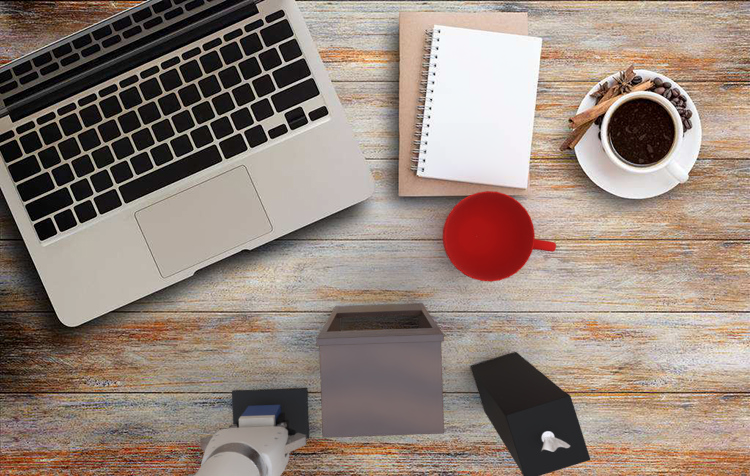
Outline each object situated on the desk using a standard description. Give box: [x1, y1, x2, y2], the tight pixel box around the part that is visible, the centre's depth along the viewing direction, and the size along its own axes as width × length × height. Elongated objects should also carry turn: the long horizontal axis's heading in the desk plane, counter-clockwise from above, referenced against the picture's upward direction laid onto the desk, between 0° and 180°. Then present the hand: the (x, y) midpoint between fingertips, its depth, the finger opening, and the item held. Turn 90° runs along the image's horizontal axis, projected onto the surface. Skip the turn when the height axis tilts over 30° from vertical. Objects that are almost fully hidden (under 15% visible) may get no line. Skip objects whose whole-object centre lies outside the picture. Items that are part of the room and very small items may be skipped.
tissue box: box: [469, 351, 591, 476], centre depth 74 cm, size 8×8×28 cm
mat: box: [231, 387, 310, 440], centre depth 87 cm, size 8×12×1 cm, turn 92°
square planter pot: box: [315, 302, 445, 439], centre depth 74 cm, size 12×14×28 cm
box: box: [239, 405, 281, 428], centre depth 81 cm, size 5×5×6 cm
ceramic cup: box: [441, 190, 557, 283], centre depth 82 cm, size 13×17×10 cm
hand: (264, 423), depth 83 cm, fingers closed on box, 5 cm apart
